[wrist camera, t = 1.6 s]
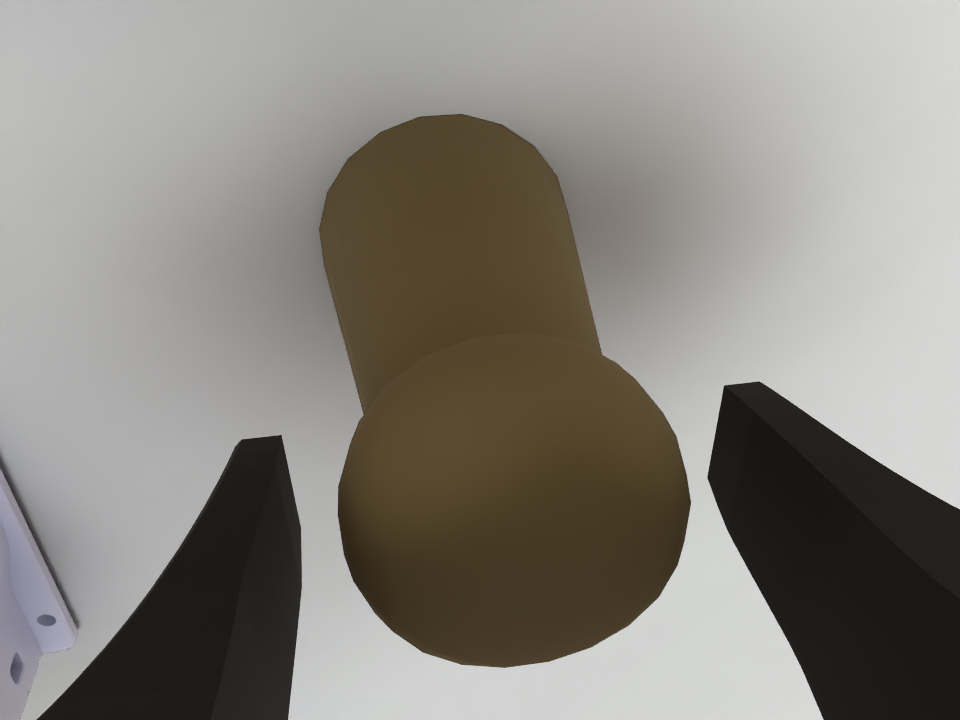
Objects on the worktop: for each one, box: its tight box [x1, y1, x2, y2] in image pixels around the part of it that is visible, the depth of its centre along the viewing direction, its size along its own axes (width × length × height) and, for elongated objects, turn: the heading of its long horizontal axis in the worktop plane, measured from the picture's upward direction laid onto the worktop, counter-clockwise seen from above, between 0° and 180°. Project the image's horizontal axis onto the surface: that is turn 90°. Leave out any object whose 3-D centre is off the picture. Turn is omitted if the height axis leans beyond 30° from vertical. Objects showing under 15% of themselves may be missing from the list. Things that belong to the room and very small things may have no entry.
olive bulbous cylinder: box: [319, 115, 691, 668], centre depth 16 cm, size 6×6×11 cm
